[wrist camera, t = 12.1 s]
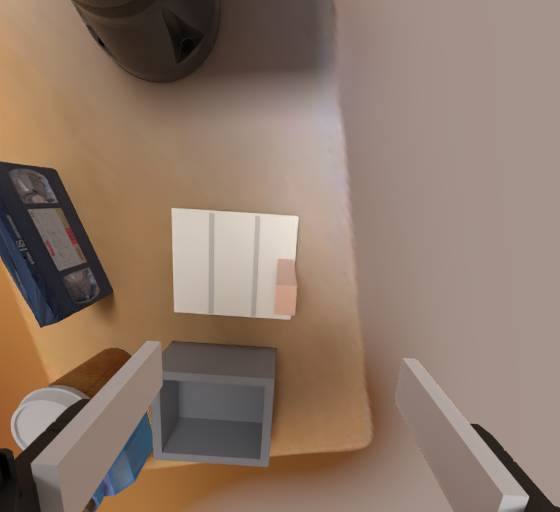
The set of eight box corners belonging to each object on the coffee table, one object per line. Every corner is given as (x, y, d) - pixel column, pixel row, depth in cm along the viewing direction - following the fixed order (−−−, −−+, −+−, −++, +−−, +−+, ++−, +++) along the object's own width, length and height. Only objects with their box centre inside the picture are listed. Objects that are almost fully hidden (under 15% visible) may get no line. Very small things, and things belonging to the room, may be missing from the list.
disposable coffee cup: (104, 399, 42) (36, 475, 31) (74, 350, 40) (-11, 411, 29) (156, 381, 41) (106, 452, 30) (128, 329, 40) (63, 385, 28)
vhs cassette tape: (115, 292, 38) (58, 323, 29) (97, 297, 39) (34, 330, 29) (59, 167, 35) (-28, 154, 25) (39, 173, 35) (-55, 163, 25)
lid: (177, 207, 36) (119, 211, 23) (297, 215, 36) (305, 224, 23) (179, 306, 39) (129, 358, 26) (290, 313, 39) (293, 369, 26)
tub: (172, 341, 40) (149, 370, 33) (276, 348, 40) (274, 379, 33) (174, 417, 43) (153, 459, 36) (270, 424, 43) (268, 467, 36)
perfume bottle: (120, 446, 44) (61, 535, 33) (110, 415, 43) (45, 497, 31) (155, 442, 44) (108, 531, 32) (146, 412, 43) (94, 492, 31)
